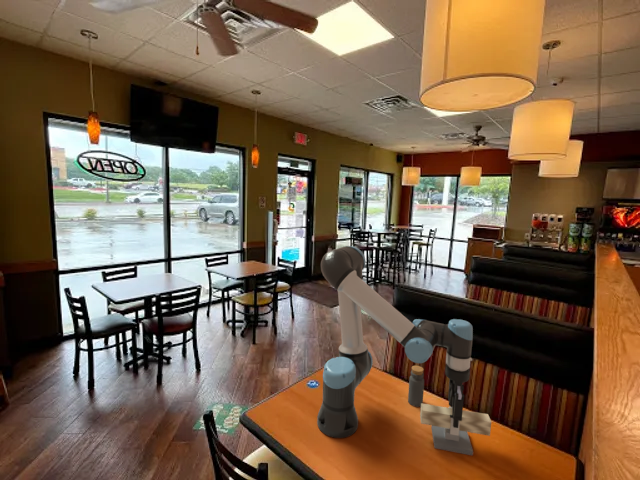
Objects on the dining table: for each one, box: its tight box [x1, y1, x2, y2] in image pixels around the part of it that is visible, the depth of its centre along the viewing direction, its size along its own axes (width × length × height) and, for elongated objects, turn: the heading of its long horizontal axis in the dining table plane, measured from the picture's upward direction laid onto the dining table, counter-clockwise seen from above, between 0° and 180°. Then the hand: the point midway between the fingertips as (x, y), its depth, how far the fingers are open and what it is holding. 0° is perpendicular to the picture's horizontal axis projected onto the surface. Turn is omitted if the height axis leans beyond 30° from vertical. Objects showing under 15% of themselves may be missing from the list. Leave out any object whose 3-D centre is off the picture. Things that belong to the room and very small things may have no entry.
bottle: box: [407, 365, 425, 408], centre depth 131 cm, size 6×6×15 cm
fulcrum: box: [431, 425, 474, 456], centre depth 111 cm, size 12×10×6 cm
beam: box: [419, 403, 492, 437], centre depth 110 cm, size 22×4×5 cm, turn 77°
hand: (453, 429), depth 110 cm, fingers open, 4 cm apart
